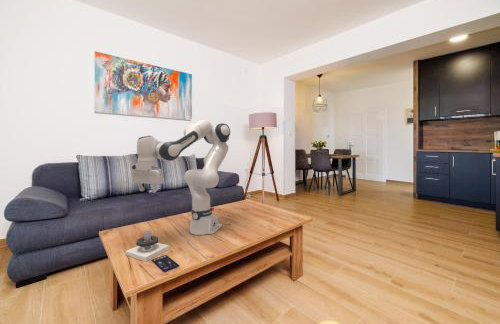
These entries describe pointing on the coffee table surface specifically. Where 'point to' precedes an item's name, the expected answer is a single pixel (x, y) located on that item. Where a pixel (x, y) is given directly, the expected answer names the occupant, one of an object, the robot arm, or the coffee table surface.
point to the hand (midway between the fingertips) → (148, 191)
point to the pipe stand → (147, 249)
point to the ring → (141, 242)
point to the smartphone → (165, 263)
